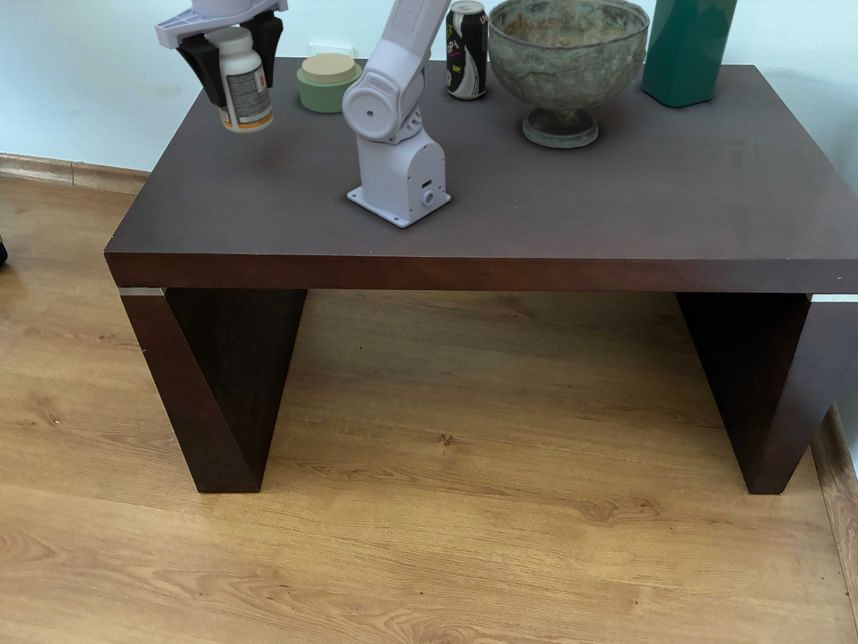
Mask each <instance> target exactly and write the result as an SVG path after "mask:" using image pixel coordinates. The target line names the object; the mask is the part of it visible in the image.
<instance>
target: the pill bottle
mask: <svg viewBox="0 0 858 644" xmlns="http://www.w3.org/2000/svg"><path fill="white" fill-rule="evenodd" d="M205 38H206V39H209V43H210V44H211V45H214V46H216V47H218V48H219V49H220V51H219V64H220V74H221V80H222V84H223V88H224V92H225V96H226V104H227V106H225V107H222V108H220V107H218V110H219V111H218V112H219V114H220V118H221V121H222V124H223V126H224V127H225V128H226V130H228V131H230V132H233V133H237V134H251V133H256V132H261V131H263V130H264V129H266V128H268V127H269V126H271V124H272V123H273V121H274V112H273V106H272V103H271V99H270V94H269V89H268V88H267V84H266V79H265V75H264V70H263V66H262V61H261V58H260V56H259V55H258V53H257V52H255V51H254V50H252V45H253V40H252V36H251V33H250V31H249V30H248V29H246V28H243V27H240V26H235V25H234V26H231V27H228V28H225V29H222V30H219V31H216V32H213V33H210V34H207V35H205Z"/></svg>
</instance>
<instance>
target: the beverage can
mask: <svg viewBox="0 0 858 644" xmlns="http://www.w3.org/2000/svg"><path fill="white" fill-rule="evenodd" d="M488 16H489V15H488V14H487V13H486V11H485V5H484V3H482V2H480V1H477V0H457V1H454V2H451V3H450V6H449V11H448V13H446V15H445V44H446V45H445V51H446V52H445V54H446V57H445V58H446V61H445V62H446V90H447V92H448V93H449V94H451V95H452V96H454V97H455V98H456V99H457V98H458V99H460V100H473V99H474V100H475V99H477V98H478V97H480V96H482V95H483V94H485V93H486V92H487V89H488V60H489V54H488V45H487V43H488V37H489V23H488Z"/></svg>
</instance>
